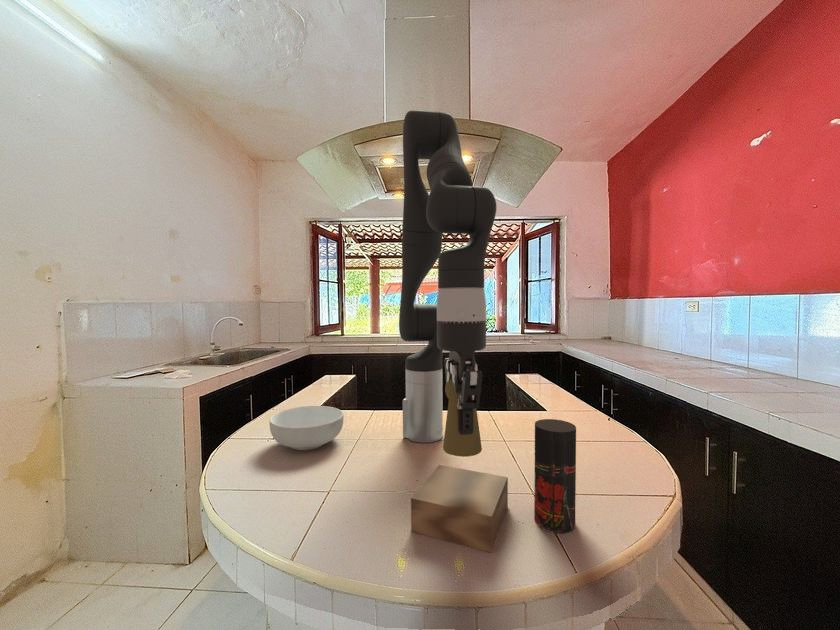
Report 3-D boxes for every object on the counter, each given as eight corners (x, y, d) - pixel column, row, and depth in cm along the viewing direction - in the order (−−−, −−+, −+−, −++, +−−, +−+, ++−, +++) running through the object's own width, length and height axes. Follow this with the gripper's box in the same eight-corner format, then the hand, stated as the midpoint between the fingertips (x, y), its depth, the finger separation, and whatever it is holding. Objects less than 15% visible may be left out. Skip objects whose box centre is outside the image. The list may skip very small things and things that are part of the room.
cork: (486, 444, 59) (486, 376, 59) (475, 459, 54) (475, 384, 53) (450, 438, 62) (450, 373, 61) (437, 452, 56) (436, 380, 56)
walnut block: (411, 531, 55) (410, 498, 54) (439, 492, 66) (439, 464, 65) (491, 552, 50) (491, 516, 50) (507, 506, 61) (507, 477, 61)
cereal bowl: (286, 466, 77) (285, 432, 77) (260, 443, 89) (259, 414, 89) (357, 444, 88) (356, 415, 88) (324, 427, 101) (324, 401, 100)
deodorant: (528, 511, 60) (528, 419, 59) (563, 509, 60) (564, 418, 59) (543, 534, 54) (544, 432, 53) (583, 532, 54) (583, 431, 54)
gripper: (501, 320, 50) (501, 444, 51) (471, 316, 64) (471, 413, 65) (447, 320, 49) (448, 448, 50) (429, 316, 63) (429, 416, 64)
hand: (461, 428), depth 57 cm, fingers closed on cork, 4 cm apart
